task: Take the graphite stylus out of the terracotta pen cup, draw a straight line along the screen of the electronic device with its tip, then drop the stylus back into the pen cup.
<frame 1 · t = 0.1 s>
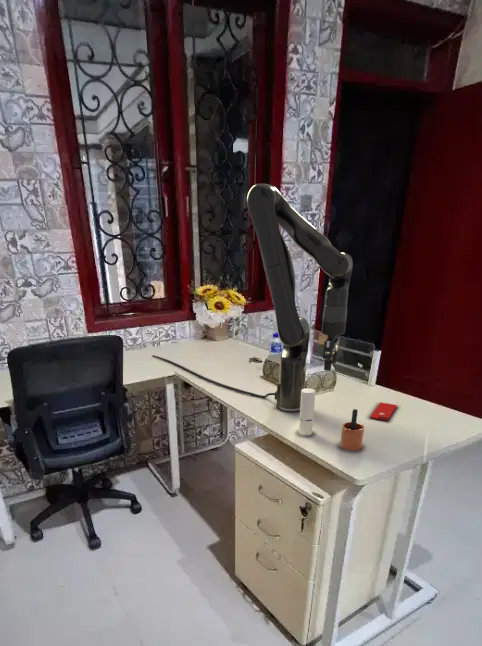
hand: (330, 366, 144), 17 cm above the table, tool pointing down, fingers open, 8 cm apart
tube: (305, 434, 137), on the table
stylus: (350, 445, 127), resting on pen cup
pen cup: (350, 446, 127), on the table
electronic device: (383, 412, 149), on the table
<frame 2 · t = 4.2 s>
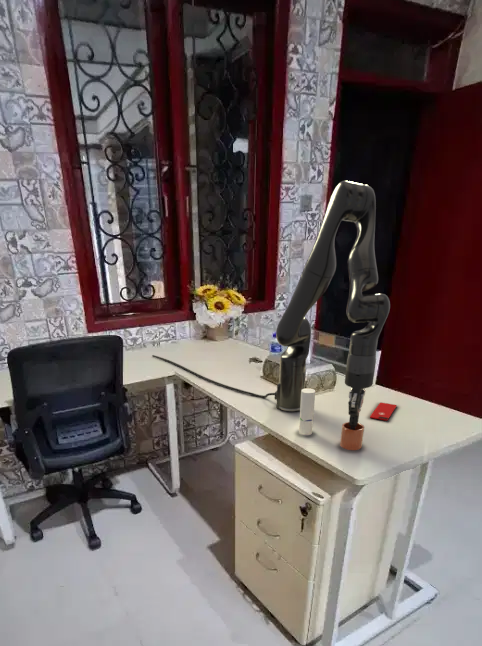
hand: (353, 424, 124), 8 cm above the table, tool pointing down, fingers closed on stylus, 1 cm apart
stylus: (350, 445, 127), point 1 cm above the table, touching gripper
everything else where it was.
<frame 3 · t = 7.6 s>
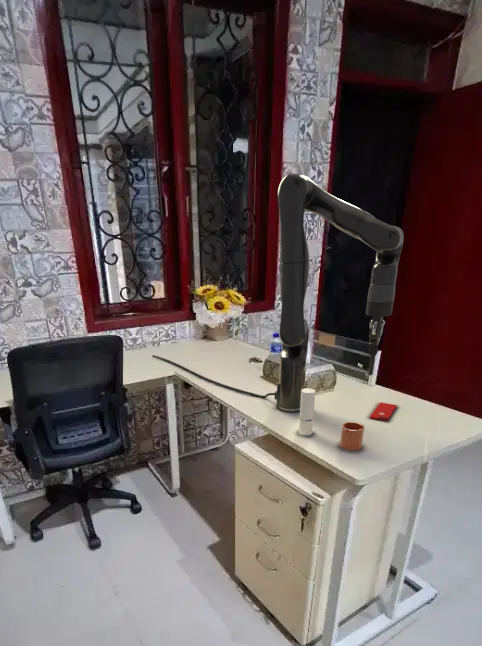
hand: (372, 354, 134), 23 cm above the table, tool pointing down, fingers closed on stylus, 1 cm apart
stylus: (370, 375, 137), point 16 cm above the table, touching gripper
everything else where it was.
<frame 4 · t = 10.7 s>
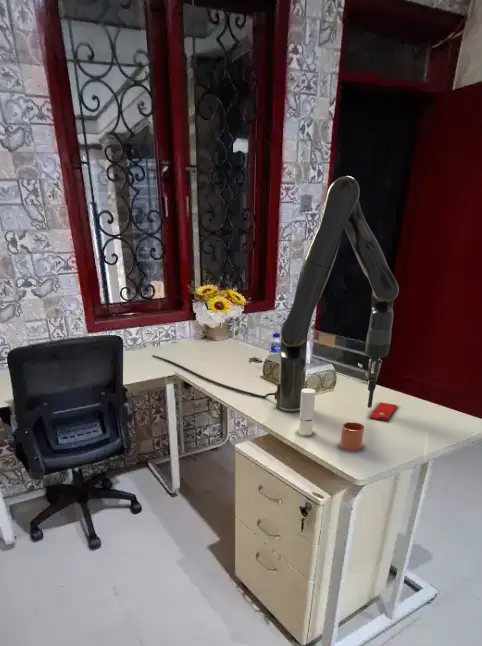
hand: (371, 389, 147), 8 cm above the table, tool pointing down, fingers closed on stylus, 1 cm apart
stylus: (369, 407, 150), point 1 cm above the table, touching gripper
everything else where it was.
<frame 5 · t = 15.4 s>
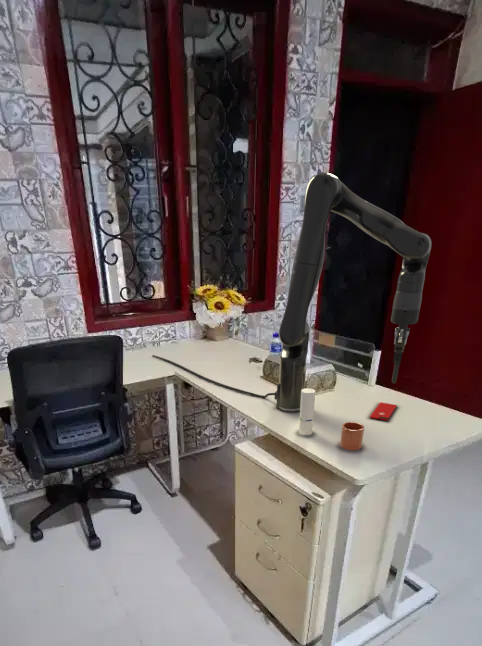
hand: (396, 362, 132), 21 cm above the table, tool pointing down, fingers closed on stylus, 1 cm apart
stylus: (393, 383, 136), point 14 cm above the table, touching gripper
everything else where it was.
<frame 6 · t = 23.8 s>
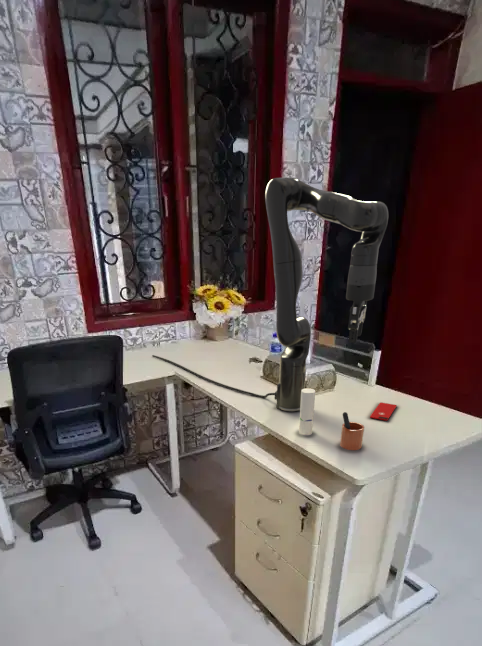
hand: (354, 339, 125), 30 cm above the table, tool pointing down, fingers open, 8 cm apart
stylus: (351, 445, 127), point 1 cm above the table, tilted 17°, touching pen cup
everything else where it was.
at the end: stylus 0.2 cm off-centre in the pen cup, point 0.5 cm above the pen cup's base; electronic device moved 0.0 cm from its start; the gripper is holding nothing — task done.
